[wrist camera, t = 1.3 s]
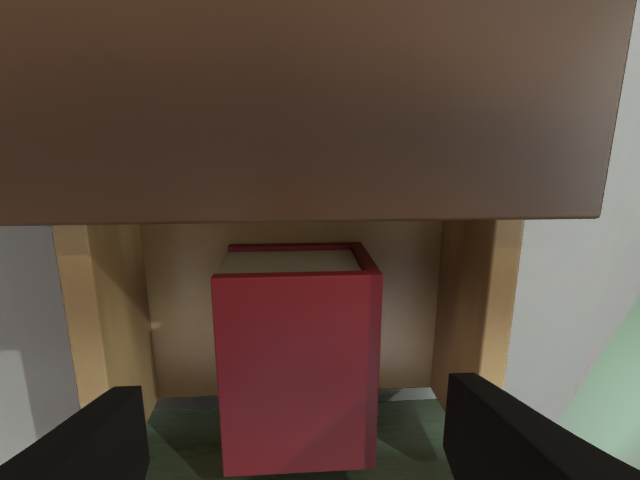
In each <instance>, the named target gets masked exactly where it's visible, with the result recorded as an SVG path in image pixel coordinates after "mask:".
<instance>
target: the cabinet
mask: <svg viewBox="0 0 640 480" xmlns="http://www.w3.org/2000/svg"><path fill="white" fill-rule="evenodd" d="M636 2H637V0H0V226H52V225H132V224H213V223H293V222H374V221H454V220H534V219H596V218H599V217H600V213H601V207H602V202H603V196H604V190H605V184H606V178H607V172H608V166H609V160H610V155H611V149H612V143H613V137H614V131H615V125H616V119H617V114H618V108H619V102H620V96H621V90H622V84H623V78H624V72H625V67H626V61H627V55H628V49H629V43H630V37H631V31H632V25H633V20H634V14H635V8H636Z"/></svg>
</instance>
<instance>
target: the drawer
mask: <svg viewBox="0 0 640 480" xmlns="http://www.w3.org/2000/svg"><path fill="white" fill-rule="evenodd" d="M51 227H52V233H53V240H54V246H55V252H56V258H57V265H58V271H59V277H60V284H61V290H62V296H63V302H64V309H65V315H66V321H67V327H68V334H69V340H70V346H71V352H72V359H73V365H74V371H75V378H76V384H77V390H78V396H79V403H80V409H82V408H83V407H85V406H86V405H87V404H89V403H90V402H92V401H93V400H94V399H96V398H97V397H99V396H100V395H102V394H103V393H105V392H106V391H108V390H109V389H111V388H112V387H115V386H140V385H141V387H142V395H143V404H144V412H145V421H146V429H147V438H148V446H149V454H150V464H149V467H148V470H147V474H146V477H145V480H454V477H453V475H452V472H451V469H450V466H449V463H448V461H447V458H446V455H445V452H444V449H443V434H444V423H445V412H446V400H447V389H448V377H449V373H470V372H474V373H476V374H478V375H479V376H481V377H483V378H485V379H486V380H488V381H490V382H491V383H493V384H494V385H496V386H498V387H499V388H501V389H502V390H503V388H504V380H505V372H506V364H507V356H508V348H509V340H510V332H511V324H512V316H513V308H514V300H515V292H516V284H517V276H518V268H519V260H520V252H521V244H522V236H523V228H524V220H454V221H374V222H293V223H213V224H132V225H52V226H51ZM335 242H361V243H362V244H363V246H364V247H365V249H366V250H367V252H368V253H369V255H370V256H371V257H372V259H373V260H374V262H375V263H376V265H377V266H378V268H379V269H380V271H381V272H382V274H383V300H382V324H381V348H380V371H379V389H394V388H418V387H431V389H432V390H433V392H434V394H435V396H436V398H437V399H424V400H401V401H378V419H377V443H376V467H375V469H361V470H343V471H325V472H307V473H289V474H271V475H253V476H235V477H224V476H223V464H222V449H221V434H220V418H219V408H218V409H196V410H173V411H153V409H154V407H155V405H156V403H157V401H158V399H159V398H178V397H202V396H218V388H217V373H216V358H215V342H214V327H213V312H212V297H211V282H210V279H211V277H212V275H213V274H217V272H218V271H219V269H220V267H221V265H222V263H223V261H224V259H225V257H226V255H227V253H228V246H229V245H230V244H272V243H335Z"/></svg>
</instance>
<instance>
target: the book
mask: <svg viewBox="0 0 640 480" xmlns="http://www.w3.org/2000/svg"><path fill="white" fill-rule="evenodd" d="M210 282H211V297H212V312H213V327H214V342H215V358H216V373H217V388H218V403H219V418H220V434H221V449H222V464H223V476H224V477H235V476H253V475H271V474H289V473H307V472H325V471H343V470H361V469H375V467H376V443H377V419H378V395H379V371H380V348H381V324H382V300H383V274H382V272H381V271H380V269H379V268H378V266H377V265H376V263H375V262H374V260H373V259H372V257H371V256H370V255H369V253H368V252H367V250H366V249H365V247H364V246H363V244H362V243H361V242H335V243H272V244H230V245H229V246H228V253H227V255H226V257H225V259H224V261H223V263H222V265H221V267H220V269H219V271H218V272H217V274H213V275H212V277H211V279H210Z"/></svg>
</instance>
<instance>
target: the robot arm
mask: <svg viewBox="0 0 640 480" xmlns="http://www.w3.org/2000/svg"><path fill="white" fill-rule="evenodd" d="M443 449H444V452H445V455H446V458H447V461H448V463H449V466H450V469H451V472H452V475H453V477H454V480H640V470H638V469H636V468H634V467H632V466H630V465H628V464H626V463H624V462H623V461H620V460H619V459H617V458H615V457H613V456H611V455H609V454H607V453H606V452H604V451H602V450H601V449H599V448H597V447H595V446H594V445H592V444H590V443H588V442H586V441H585V440H583V439H581V438H579V437H577V436H576V435H574V434H573V433H571V432H569V431H568V430H566V429H564V428H562V427H561V426H559V425H558V424H556V423H554V422H553V421H551V420H550V419H548V418H546V417H545V416H543V415H542V414H540V413H538V412H537V411H535V410H534V409H532V408H530V407H529V406H527V405H526V404H524V403H523V402H521V401H519V400H518V399H516V398H515V397H513V396H512V395H510V394H509V393H507V392H505V391H504V390H502V389H501V388H499V387H498V386H496V385H494V384H493V383H491V382H490V381H488V380H486V379H485V378H483V377H481V376H479V375H478V374H476V373H474V372H470V373H449V377H448V389H447V400H446V412H445V423H444V434H443ZM149 464H150V454H149V446H148V438H147V429H146V421H145V412H144V404H143V395H142V387H141V385H140V386H115V387H112V388H111V389H109V390H108V391H106V392H105V393H103V394H102V395H100V396H99V397H97V398H96V399H94V400H93V401H92V402H90V403H89V404H87V405H86V406H85V407H83V408H82V409H81V410H79V411H78V412H76V413H75V414H74V415H72V416H71V417H70V418H68V419H67V420H65V421H64V422H63V423H61V424H60V425H58V426H57V427H56V428H54V429H53V430H51V431H50V432H49V433H47V434H46V435H44V436H43V437H42V438H40V439H39V440H37V441H36V442H35V443H33V444H32V445H30V446H29V447H28V448H26V449H25V450H23V451H22V452H20V453H19V454H17V455H16V456H14V457H13V458H11V459H10V460H8V461H7V462H5V463H4V464H2V465H1V466H0V480H145V477H146V474H147V470H148V467H149Z"/></svg>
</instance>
